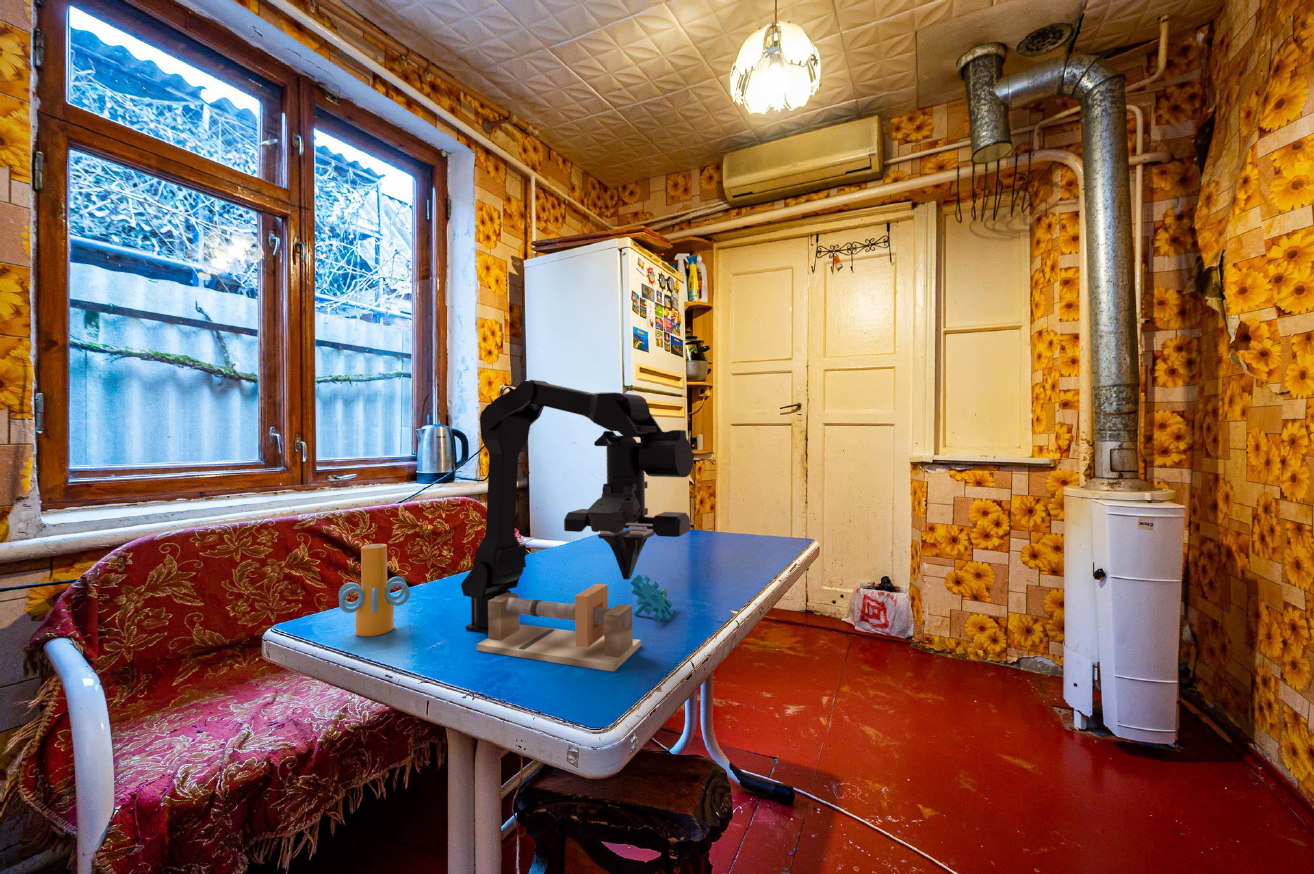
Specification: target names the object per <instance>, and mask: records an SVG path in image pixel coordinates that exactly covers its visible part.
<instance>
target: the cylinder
mask: <svg viewBox="0 0 1314 874" xmlns="http://www.w3.org/2000/svg"><path fill="white" fill-rule="evenodd" d="M387 548H388V544H386V543H373V544H372V543H371V544H366V545H362V546H361V548H360V552H361V553H360V559H361V562H360V565H361V569H360V570H361V574H360V577H361V585H360V584H359V583H356V582H346V583H345V584H343V585H342V586H341V587H340V588H339V591H338V599H339V600H338V605H339V608H340V610H341V611H342V612H344V613H346V614H352V613H355V618H354V620H355V624H354V625H355V627H354V628H355V630H354V631H355V634H356V635H357V636H358V637H375V636H380V635H383V634H384V635H385V634H386V633H388V632H391V631H392V630H394V628H395V622H394V621H395V611H394V610H395V609H394V606H403V605H404V604H406V603H407V601H408V600H409V599H410V597H411V592H410V588H409V586H408V585H407V582H406V580H405V578H404V577H401V576H394V577H391V578H389V579H388V549H387ZM395 587H401V590H400V591H399V593H398V594H396V595H391V590H393V588H395ZM351 593H357V594H358V597H357V599H356V600H355V601H351V602H350V601H348V600H347V599H346V597H347V596H348V595H349V594H351ZM403 596H404V597H403ZM402 597H403V598H402ZM401 598H402V599H401ZM400 599H401V600H400Z"/></svg>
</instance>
